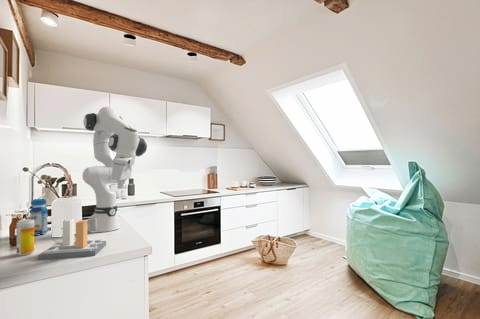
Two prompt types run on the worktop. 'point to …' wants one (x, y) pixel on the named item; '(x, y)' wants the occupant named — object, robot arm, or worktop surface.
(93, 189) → the robot arm
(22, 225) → the yellow cylinder
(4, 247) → the worktop surface
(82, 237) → the tan wooden block
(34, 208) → the blue bottle
